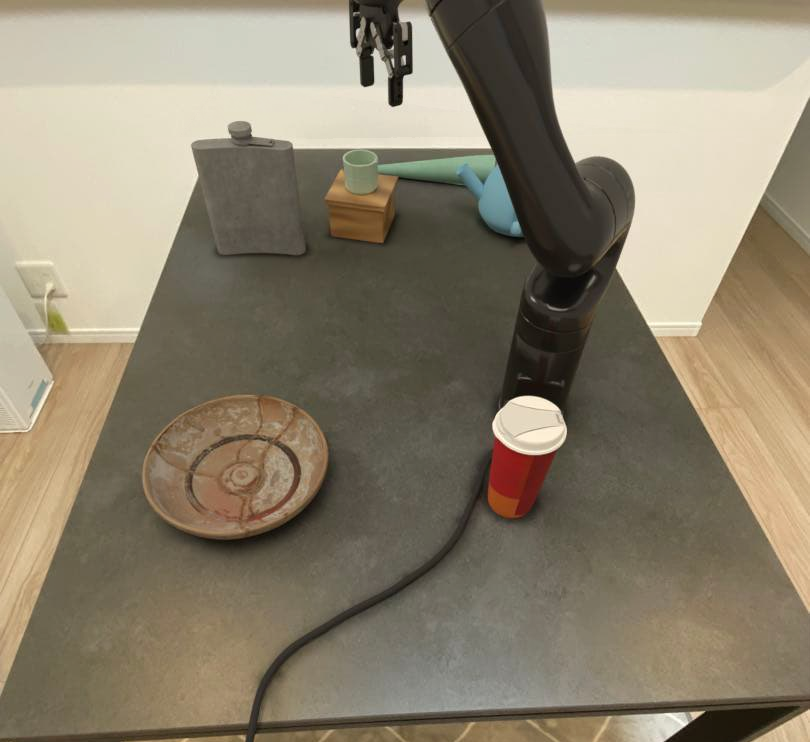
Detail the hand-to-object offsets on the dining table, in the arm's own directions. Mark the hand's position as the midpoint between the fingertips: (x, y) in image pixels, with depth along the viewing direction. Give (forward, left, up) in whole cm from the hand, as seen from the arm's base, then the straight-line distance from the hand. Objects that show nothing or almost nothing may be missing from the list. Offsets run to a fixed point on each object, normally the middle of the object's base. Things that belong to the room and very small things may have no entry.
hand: (381, 95), depth 94 cm
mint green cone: (+22, -4, -23) cm, 32 cm away
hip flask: (-10, +20, -23) cm, 32 cm away
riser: (+2, +4, -22) cm, 23 cm away
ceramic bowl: (-62, +4, -23) cm, 66 cm away
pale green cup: (+2, +4, -15) cm, 16 cm away
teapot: (+10, -22, -23) cm, 33 cm away
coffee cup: (-57, -31, -23) cm, 69 cm away
